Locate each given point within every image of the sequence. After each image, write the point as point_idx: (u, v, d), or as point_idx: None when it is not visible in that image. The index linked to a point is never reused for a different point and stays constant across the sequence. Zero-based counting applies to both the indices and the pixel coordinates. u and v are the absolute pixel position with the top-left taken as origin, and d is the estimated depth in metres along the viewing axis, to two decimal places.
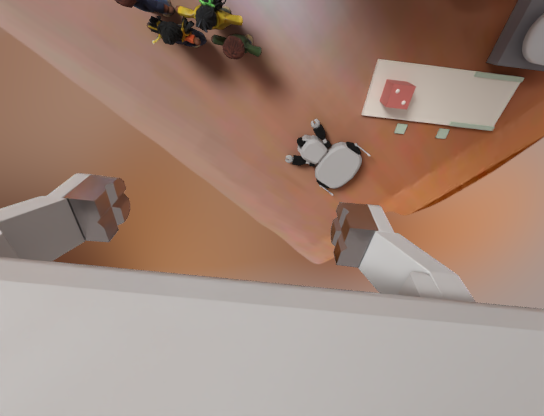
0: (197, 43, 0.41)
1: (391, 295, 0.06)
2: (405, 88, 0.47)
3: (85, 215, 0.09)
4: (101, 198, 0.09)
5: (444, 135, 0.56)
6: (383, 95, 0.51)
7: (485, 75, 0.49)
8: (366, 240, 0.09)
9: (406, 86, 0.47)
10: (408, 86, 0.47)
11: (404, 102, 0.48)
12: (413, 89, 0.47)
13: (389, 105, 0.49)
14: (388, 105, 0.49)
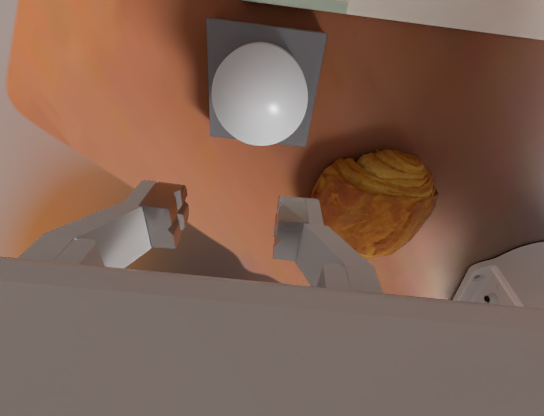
0: None
1: (391, 295, 0.06)
2: None
3: (157, 222, 0.09)
4: (173, 206, 0.09)
5: None
6: None
7: (325, 5, 0.22)
8: (297, 233, 0.09)
9: None
10: None
11: None
12: None
13: None
14: None
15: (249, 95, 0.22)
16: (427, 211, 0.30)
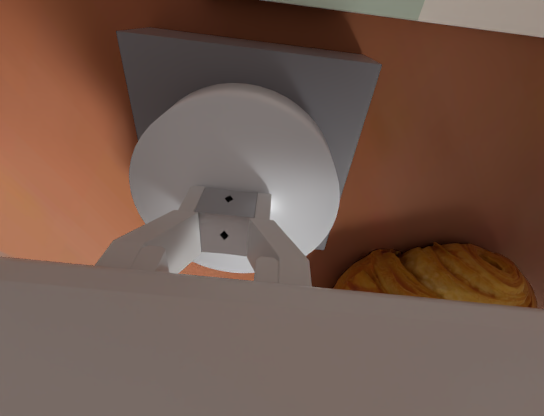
0: None
1: (391, 295, 0.06)
2: None
3: (210, 228, 0.09)
4: (226, 212, 0.09)
5: None
6: None
7: (376, 1, 0.10)
8: (245, 228, 0.09)
9: None
10: None
11: None
12: None
13: None
14: None
15: None
16: None
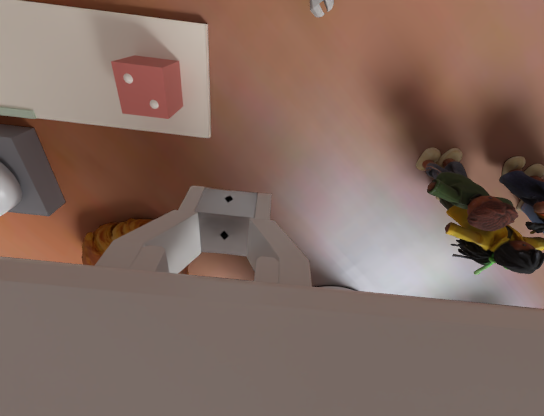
0: None
1: (391, 295, 0.06)
2: (141, 109, 0.23)
3: (210, 228, 0.09)
4: (226, 212, 0.09)
5: None
6: (176, 79, 0.24)
7: (14, 112, 0.27)
8: (245, 228, 0.09)
9: (141, 113, 0.23)
10: (137, 113, 0.23)
11: (126, 80, 0.21)
12: (124, 107, 0.23)
13: (155, 71, 0.21)
14: (158, 71, 0.21)
15: None
16: None
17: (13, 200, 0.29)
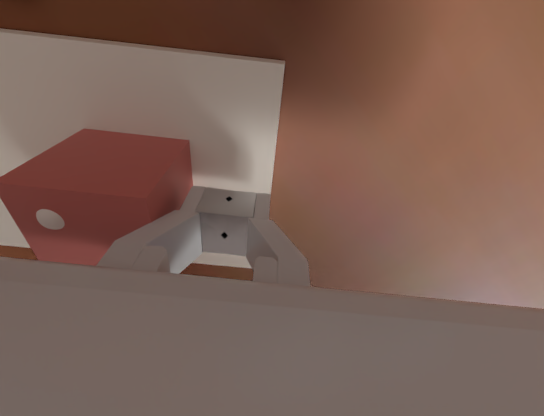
0: None
1: (391, 295, 0.06)
2: None
3: (211, 228, 0.09)
4: (227, 212, 0.09)
5: None
6: (183, 184, 0.10)
7: None
8: (244, 228, 0.09)
9: None
10: None
11: (45, 224, 0.08)
12: None
13: (127, 206, 0.07)
14: (133, 207, 0.07)
15: None
16: None
17: None
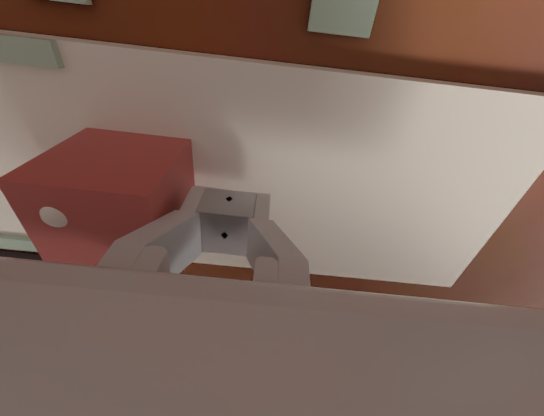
0: None
1: (391, 295, 0.06)
2: None
3: (211, 228, 0.09)
4: (227, 212, 0.09)
5: None
6: (185, 183, 0.10)
7: None
8: (244, 228, 0.09)
9: None
10: None
11: (48, 222, 0.08)
12: None
13: (129, 204, 0.07)
14: (135, 205, 0.07)
15: None
16: None
17: None
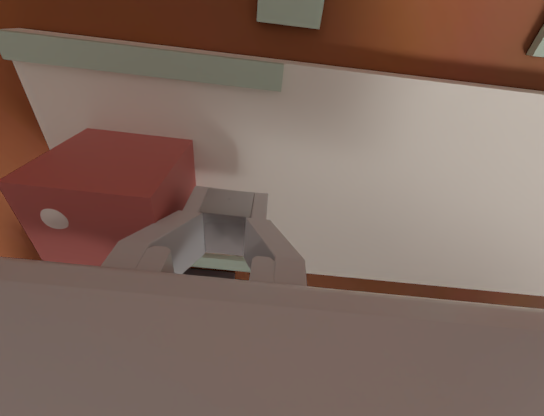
0: None
1: (391, 295, 0.06)
2: None
3: (214, 228, 0.09)
4: (230, 212, 0.09)
5: None
6: (187, 184, 0.10)
7: (226, 265, 0.14)
8: (241, 227, 0.09)
9: None
10: None
11: (49, 223, 0.08)
12: None
13: (131, 206, 0.07)
14: (137, 206, 0.07)
15: None
16: None
17: None
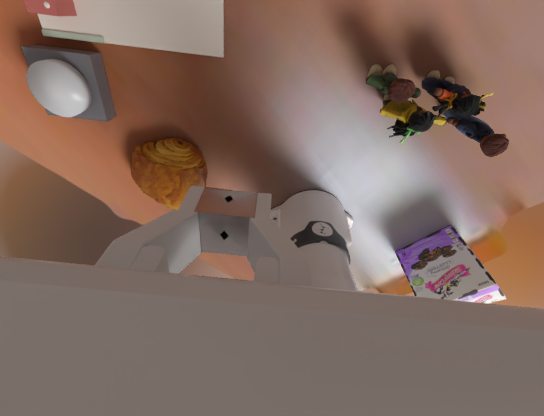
0: (439, 90, 0.36)
1: (391, 295, 0.06)
2: (39, 9, 0.35)
3: (210, 228, 0.09)
4: (226, 212, 0.09)
5: None
6: None
7: (90, 38, 0.40)
8: (245, 228, 0.09)
9: (39, 12, 0.35)
10: (37, 12, 0.35)
11: None
12: (27, 7, 0.35)
13: None
14: None
15: (49, 87, 0.40)
16: (194, 177, 0.49)
17: (87, 103, 0.42)
